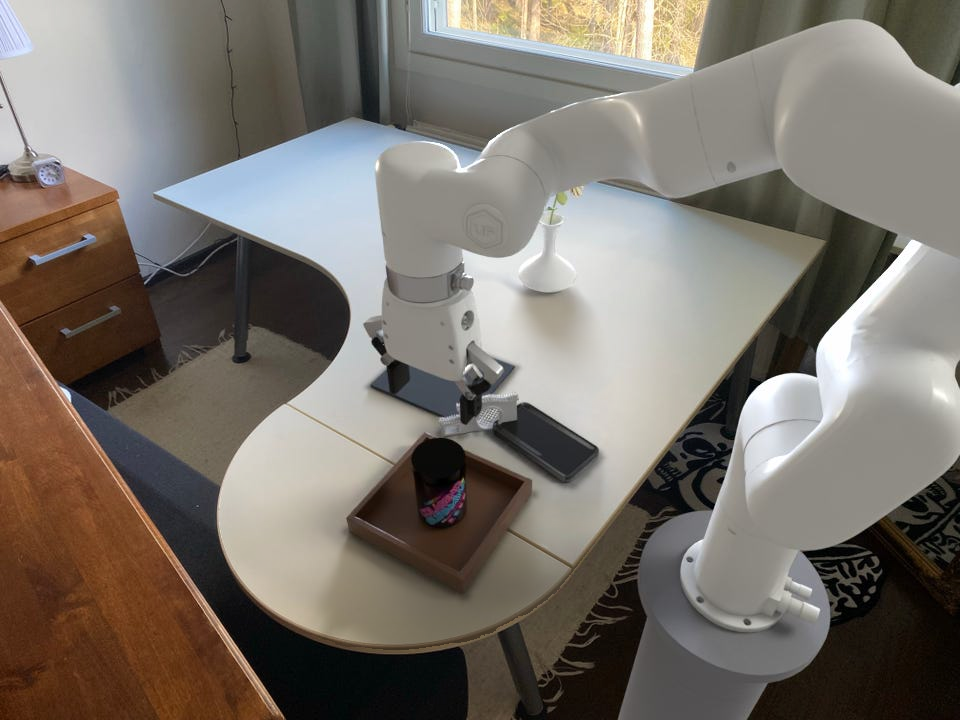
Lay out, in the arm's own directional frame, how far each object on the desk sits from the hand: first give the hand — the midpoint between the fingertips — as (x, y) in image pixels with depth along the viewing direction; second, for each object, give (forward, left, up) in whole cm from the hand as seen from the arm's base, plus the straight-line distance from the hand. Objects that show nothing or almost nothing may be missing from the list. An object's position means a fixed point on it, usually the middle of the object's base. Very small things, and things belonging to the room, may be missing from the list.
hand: (434, 401), depth 76 cm
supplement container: (0, 0, -20) cm, 20 cm away
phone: (-6, -18, -20) cm, 28 cm away
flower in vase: (+13, -58, -20) cm, 63 cm away
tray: (0, 0, -20) cm, 20 cm away
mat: (+15, -23, -20) cm, 34 cm away
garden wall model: (+4, -16, -20) cm, 26 cm away
